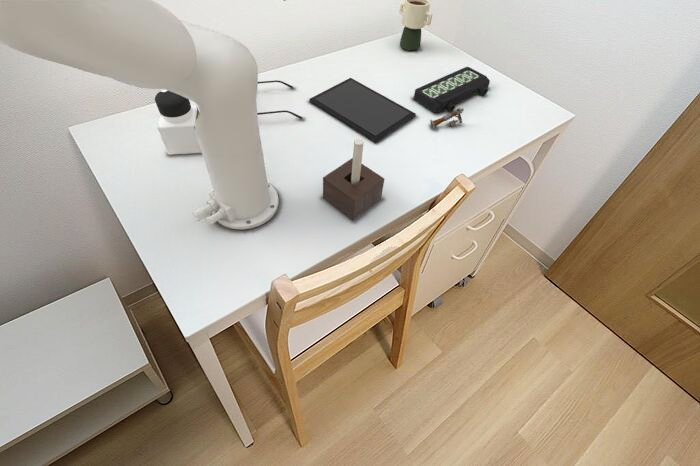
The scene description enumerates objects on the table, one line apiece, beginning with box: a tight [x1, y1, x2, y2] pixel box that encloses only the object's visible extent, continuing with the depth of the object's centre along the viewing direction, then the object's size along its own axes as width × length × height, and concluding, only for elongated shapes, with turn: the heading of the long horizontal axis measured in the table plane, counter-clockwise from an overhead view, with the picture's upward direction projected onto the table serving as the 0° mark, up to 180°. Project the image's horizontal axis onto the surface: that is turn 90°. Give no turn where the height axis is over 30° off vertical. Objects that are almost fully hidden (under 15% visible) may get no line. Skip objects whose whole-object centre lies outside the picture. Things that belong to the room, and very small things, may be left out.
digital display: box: [413, 66, 491, 114], centre depth 100 cm, size 21×3×10 cm
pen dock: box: [322, 157, 385, 221], centre depth 73 cm, size 8×8×6 cm
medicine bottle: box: [154, 89, 202, 156], centre depth 78 cm, size 7×7×12 cm
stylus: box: [351, 138, 365, 186], centre depth 70 cm, size 2×2×14 cm
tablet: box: [308, 77, 417, 144], centre depth 94 cm, size 15×22×1 cm
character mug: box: [398, 0, 433, 51], centre depth 111 cm, size 11×7×13 cm, turn 48°
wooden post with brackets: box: [429, 107, 465, 130], centre depth 91 cm, size 2×8×4 cm, turn 105°
